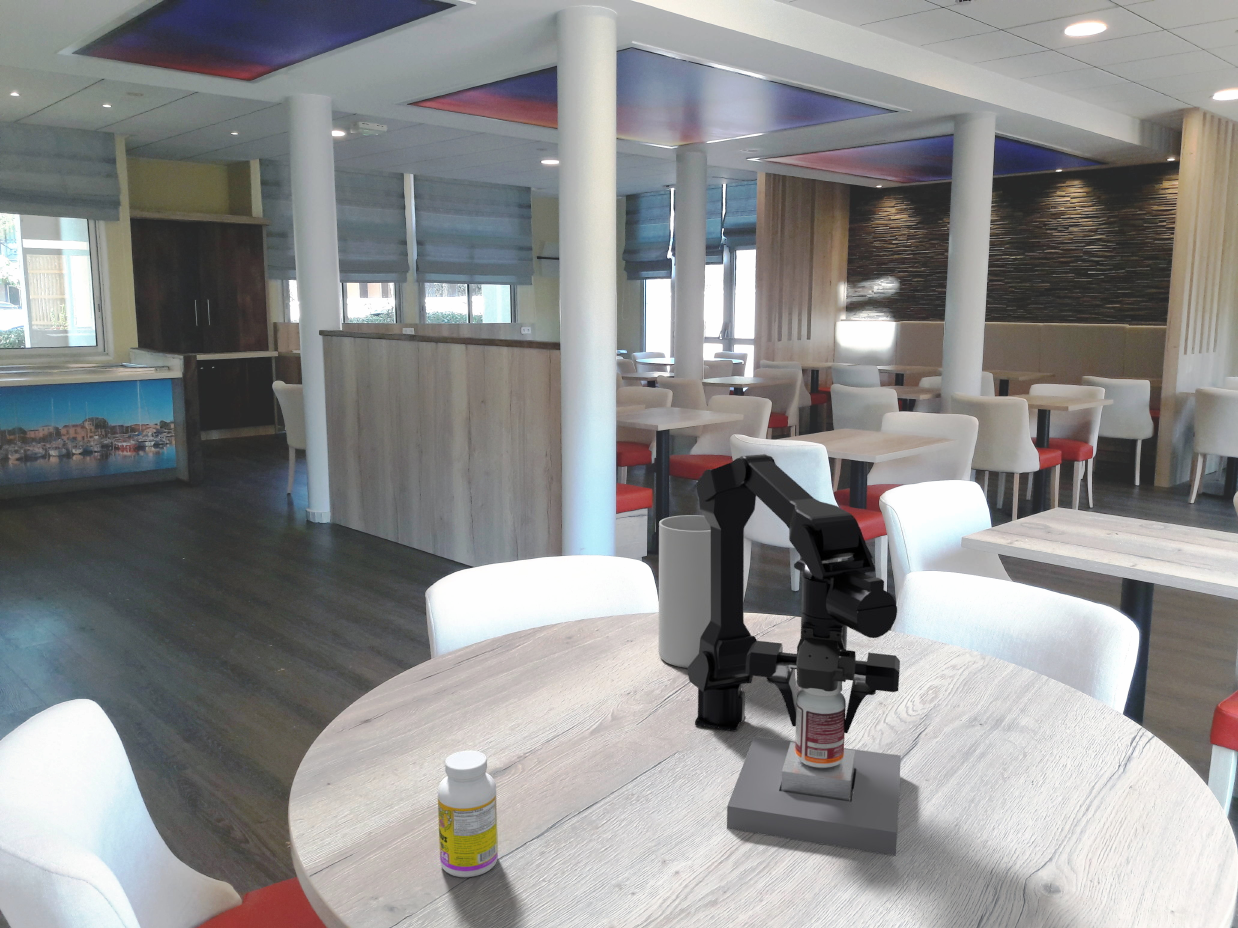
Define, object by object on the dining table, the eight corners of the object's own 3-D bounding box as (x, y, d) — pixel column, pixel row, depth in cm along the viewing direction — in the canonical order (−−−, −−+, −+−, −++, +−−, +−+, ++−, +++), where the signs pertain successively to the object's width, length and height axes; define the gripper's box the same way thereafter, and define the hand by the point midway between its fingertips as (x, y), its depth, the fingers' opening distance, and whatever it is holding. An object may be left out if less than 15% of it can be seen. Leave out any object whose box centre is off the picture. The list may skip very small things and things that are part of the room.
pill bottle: (853, 761, 123) (857, 677, 121) (818, 774, 119) (822, 688, 117) (818, 742, 128) (822, 661, 126) (784, 754, 124) (787, 671, 122)
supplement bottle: (443, 848, 114) (439, 746, 112) (499, 845, 114) (496, 744, 112) (437, 881, 107) (433, 774, 105) (497, 878, 108) (494, 772, 106)
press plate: (726, 828, 118) (727, 805, 117) (753, 755, 137) (754, 735, 136) (895, 855, 112) (897, 832, 111) (899, 775, 131) (900, 755, 130)
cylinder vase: (733, 649, 178) (736, 518, 174) (718, 673, 167) (720, 533, 162) (669, 641, 182) (670, 513, 178) (649, 664, 171) (650, 528, 167)
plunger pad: (781, 792, 121) (781, 770, 121) (789, 762, 129) (790, 741, 128) (849, 802, 119) (850, 780, 118) (854, 771, 127) (854, 750, 126)
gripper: (739, 624, 115) (736, 746, 118) (900, 641, 110) (893, 768, 112) (754, 597, 126) (751, 709, 128) (902, 611, 120) (896, 728, 123)
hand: (820, 728), depth 123 cm, fingers closed on pill bottle, 6 cm apart
